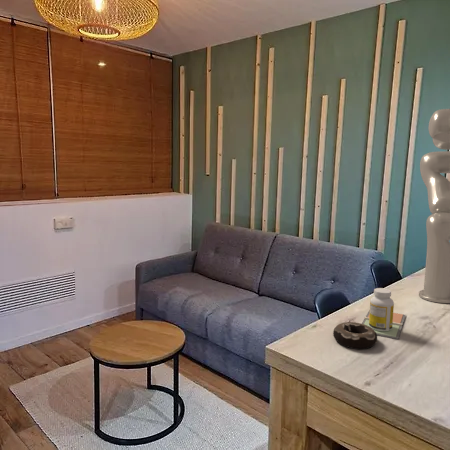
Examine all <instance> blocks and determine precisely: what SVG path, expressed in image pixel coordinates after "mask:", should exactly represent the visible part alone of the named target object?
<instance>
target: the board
mask: <svg viewBox="0 0 450 450" xmlns="http://www.w3.org/2000/svg"><path fill="white" fill-rule="evenodd" d="M369 315H370V309H369V311H368V312H367V313H366V315H365V316H364V319H363V320H362V322H361V324H364V325H367V326H369ZM405 319H406V314H402V313H397V312H393V323H392V329H391V330H389V331H377V330H374V329H373V330H374V331H375V332H376V334H377V337H384V338H388V339H393V340H399V338H400V336H401V331H402V328H403V326H404V323H403V322H405ZM402 325H403V326H402ZM369 327H370V326H369Z"/></svg>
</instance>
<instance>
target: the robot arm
mask: <svg viewBox="0 0 450 450" xmlns="http://www.w3.org/2000/svg"><path fill="white" fill-rule="evenodd" d="M428 133H429V136H430V137H431V138H432V143H433V145H434V146H435V147H436V149H437V148H438V149H439V150H444V151H430V152H428V153H425V154H423V155H422V156H421V158H420V161H419V162H420V163H419V170H420V176H421V179H422V181H423V183H424V185H425V186H426V190H427V199H428V207H429V211H430V213H431V214H430V215H429V216H428V217H427V218H426V220H425V221H426V223H425V224H426V225H425V226H426V227H425V228H426V240H427V241H426V244H427V245H426V258H425V269H424V270H425V271H424V282H423V289H422V290H419V291H418V296H419V297H420V298H421V299H422V300H425V301H429V302H433V303H438V304H450V180H449V179H448V178H447V177H445V176H444V175H443V174H450V108H442V109H441V108H440V109H437V110H436V111H434V112H433V113H432V115H431V117H430V119H429V122H428ZM446 150H448V151H446Z"/></svg>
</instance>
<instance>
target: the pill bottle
mask: <svg viewBox="0 0 450 450" xmlns="http://www.w3.org/2000/svg"><path fill="white" fill-rule="evenodd" d="M373 295H374V296H372V297H371V298H370V303H369V310H370V315H369V326H370V327H371V328H372V329H374V330H377V331H389V330H391V329H392V323H393V313H394V307H395V306H394V305H395V302H394V300H393V299H392V298H391V297H392V291H391V290H390V289H389V288H385V287H384V288H383V287H377V288H374V289H373Z"/></svg>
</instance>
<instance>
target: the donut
mask: <svg viewBox="0 0 450 450" xmlns="http://www.w3.org/2000/svg"><path fill="white" fill-rule="evenodd" d="M332 336H333V337H334V340H335V341H336V342H337V343H339V344H340V345H342V346H344V347H346V348H351V349H356V350H357V349H358V350H361V349H362V350H364V349H369V348H372V347H373V346H375V345H376V343H377V342H378V335H377V334H376V332H375V331H374V330H373V329H372V328H371V327H369V326H367V325H364V324H362V322H361V323H360V322H356V321H355V322H353V321H345V322H341V323H339V324H337V325H336V326H335V327H334V329H333V332H332Z"/></svg>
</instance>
